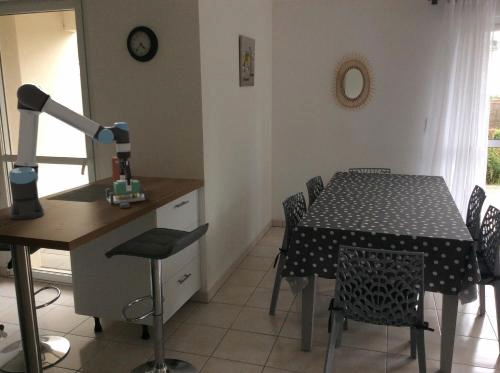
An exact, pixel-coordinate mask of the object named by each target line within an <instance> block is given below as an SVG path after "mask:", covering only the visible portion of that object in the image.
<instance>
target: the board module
mask: <svg viewBox="0 0 500 373" xmlns="http://www.w3.org/2000/svg"><path fill="white" fill-rule="evenodd" d="M112 183H113V194H114V195H115V196H116V195H126V194H132V193H139V192H140V185H141V184H140V181H139V180H138V179H131V188H132V191H126V180H117V181H116V182H112Z"/></svg>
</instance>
